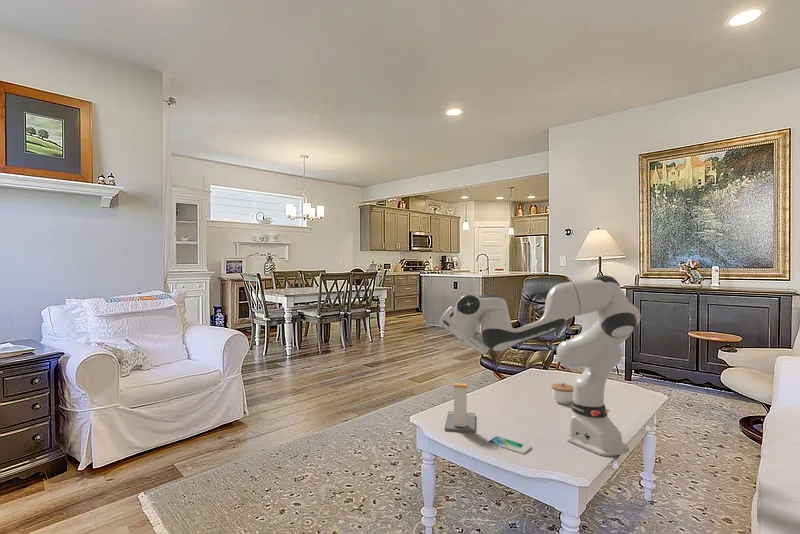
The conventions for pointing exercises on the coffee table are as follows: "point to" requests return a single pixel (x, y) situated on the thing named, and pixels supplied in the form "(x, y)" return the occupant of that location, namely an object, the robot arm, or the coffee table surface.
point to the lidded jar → (562, 393)
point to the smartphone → (510, 445)
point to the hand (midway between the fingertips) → (463, 341)
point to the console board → (450, 426)
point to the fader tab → (460, 404)
